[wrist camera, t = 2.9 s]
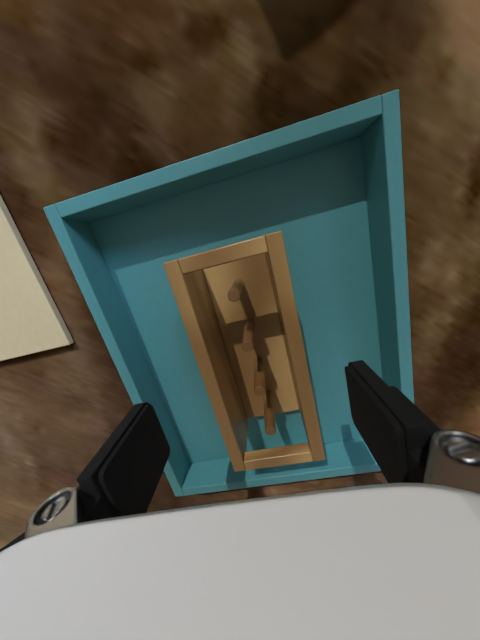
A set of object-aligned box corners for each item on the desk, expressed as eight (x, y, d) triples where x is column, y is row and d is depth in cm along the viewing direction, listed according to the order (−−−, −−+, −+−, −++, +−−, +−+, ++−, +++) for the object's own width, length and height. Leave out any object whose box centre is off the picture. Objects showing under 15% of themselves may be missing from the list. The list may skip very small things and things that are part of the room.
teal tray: (371, 118, 13) (399, 87, 11) (396, 438, 20) (417, 466, 17) (76, 213, 16) (42, 207, 13) (184, 468, 23) (175, 497, 20)
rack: (273, 235, 15) (281, 230, 11) (308, 407, 19) (326, 460, 15) (189, 258, 16) (161, 263, 11) (239, 419, 20) (234, 472, 15)
